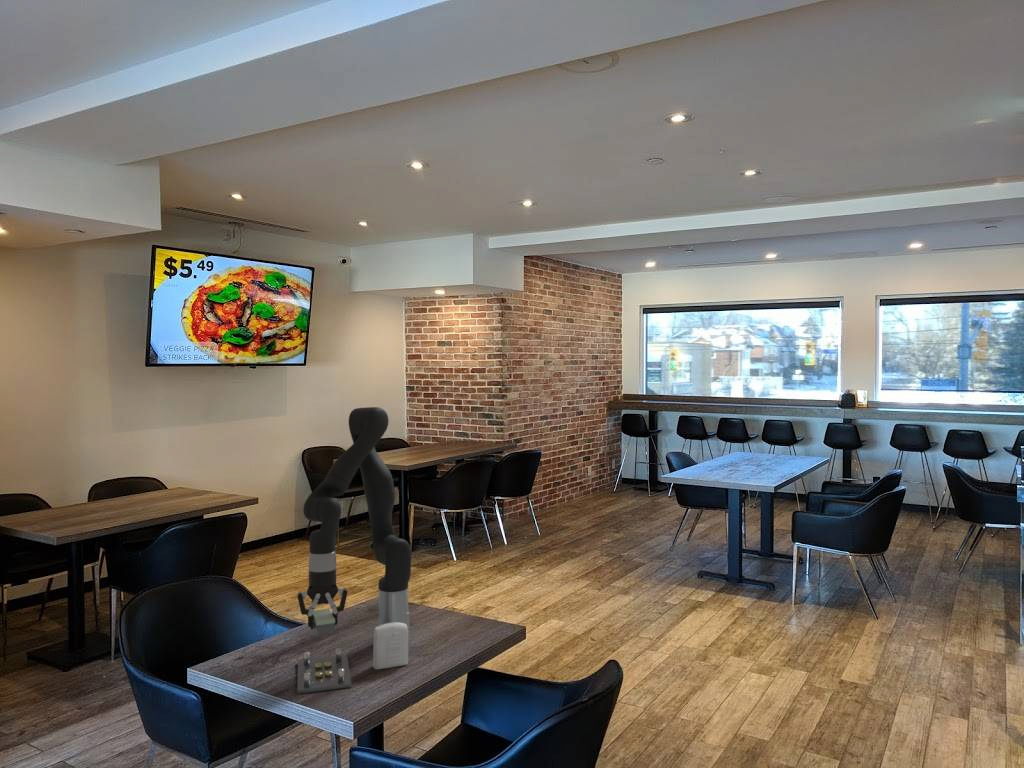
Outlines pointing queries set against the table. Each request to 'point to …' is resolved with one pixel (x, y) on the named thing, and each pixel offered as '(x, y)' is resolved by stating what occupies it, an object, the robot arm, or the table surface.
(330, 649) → the table surface
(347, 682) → the plate
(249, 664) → the table surface
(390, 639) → the photo printer
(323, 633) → the grey green block
